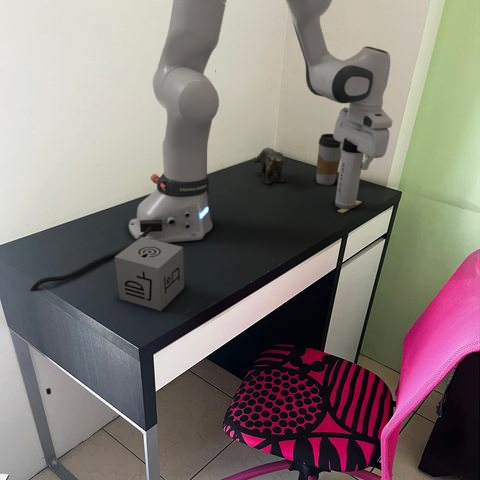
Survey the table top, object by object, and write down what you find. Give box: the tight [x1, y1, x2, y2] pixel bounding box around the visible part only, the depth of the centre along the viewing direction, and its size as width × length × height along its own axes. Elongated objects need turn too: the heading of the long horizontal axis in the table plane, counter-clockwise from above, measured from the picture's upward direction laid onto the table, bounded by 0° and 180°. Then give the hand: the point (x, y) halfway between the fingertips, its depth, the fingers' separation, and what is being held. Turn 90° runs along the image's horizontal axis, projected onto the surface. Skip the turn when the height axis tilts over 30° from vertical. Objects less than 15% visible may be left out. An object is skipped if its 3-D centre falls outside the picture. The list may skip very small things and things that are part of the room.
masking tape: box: [337, 199, 362, 214], centre depth 148 cm, size 12×2×1 cm, turn 140°
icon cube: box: [114, 237, 185, 312], centre depth 101 cm, size 10×10×10 cm
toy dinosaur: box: [252, 147, 286, 184], centre depth 162 cm, size 22×8×11 cm, turn 10°
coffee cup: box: [316, 133, 341, 186], centre depth 161 cm, size 8×8×15 cm
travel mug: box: [334, 138, 365, 210], centre depth 143 cm, size 6×7×20 cm
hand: (353, 164), depth 141 cm, fingers open, 8 cm apart
